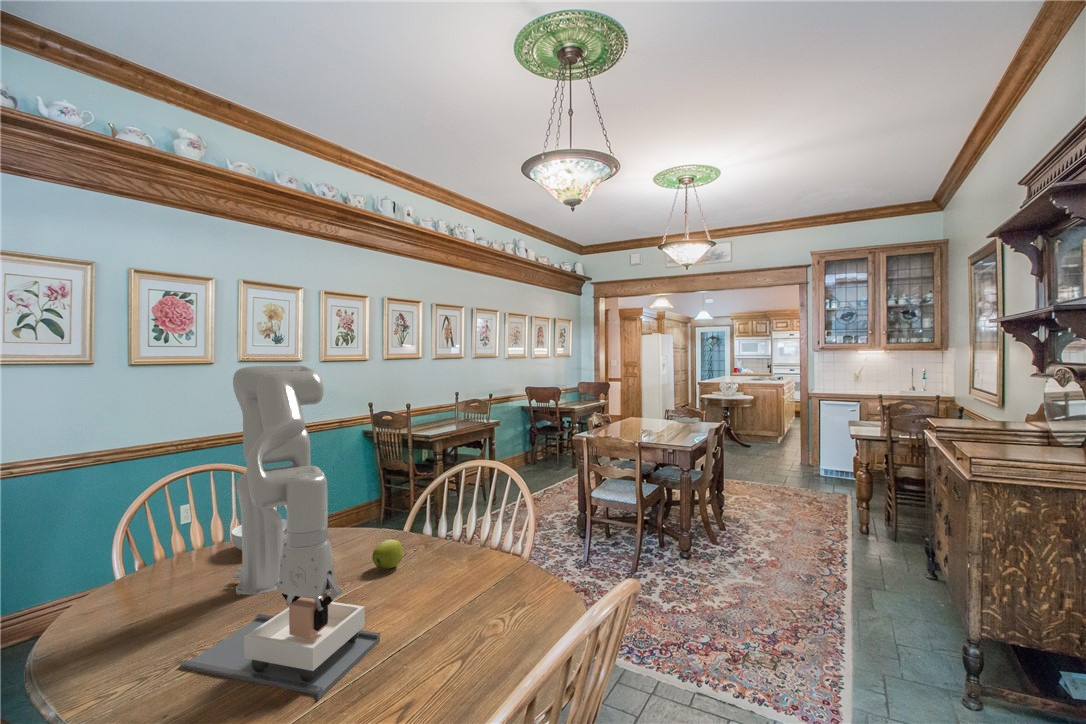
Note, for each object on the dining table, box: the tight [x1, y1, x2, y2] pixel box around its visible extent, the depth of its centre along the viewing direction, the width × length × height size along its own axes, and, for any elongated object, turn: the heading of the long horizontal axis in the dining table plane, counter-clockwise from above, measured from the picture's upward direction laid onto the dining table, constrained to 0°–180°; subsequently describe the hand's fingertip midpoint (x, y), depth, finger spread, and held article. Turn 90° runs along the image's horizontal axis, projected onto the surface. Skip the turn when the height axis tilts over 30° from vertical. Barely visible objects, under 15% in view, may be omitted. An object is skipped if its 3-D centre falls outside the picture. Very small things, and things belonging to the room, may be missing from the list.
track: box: [179, 613, 381, 701], centre depth 102 cm, size 32×19×2 cm, turn 75°
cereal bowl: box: [230, 518, 287, 551], centre depth 160 cm, size 17×17×7 cm
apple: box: [371, 538, 404, 570], centre depth 144 cm, size 8×9×8 cm
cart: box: [244, 601, 366, 682], centre depth 101 cm, size 16×16×7 cm
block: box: [288, 596, 328, 638], centre depth 101 cm, size 5×5×6 cm
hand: (308, 624), depth 101 cm, fingers open, 5 cm apart
